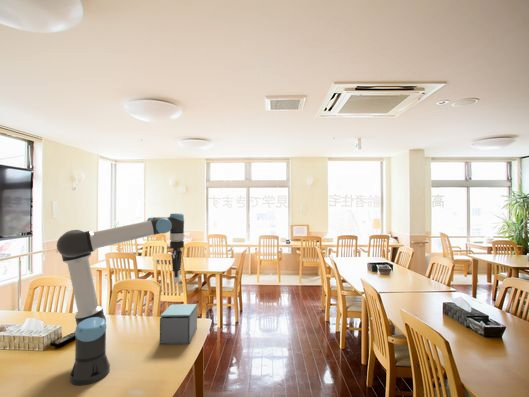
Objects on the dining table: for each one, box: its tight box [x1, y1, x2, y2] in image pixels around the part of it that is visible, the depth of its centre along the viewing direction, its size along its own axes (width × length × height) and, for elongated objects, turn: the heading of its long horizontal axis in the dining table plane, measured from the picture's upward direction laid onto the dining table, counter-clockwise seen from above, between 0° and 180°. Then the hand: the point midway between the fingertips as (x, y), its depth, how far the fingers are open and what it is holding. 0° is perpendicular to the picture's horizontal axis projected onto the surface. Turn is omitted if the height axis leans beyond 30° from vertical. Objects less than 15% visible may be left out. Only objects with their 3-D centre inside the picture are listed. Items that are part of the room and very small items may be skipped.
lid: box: [160, 303, 198, 318], centre depth 165 cm, size 19×16×1 cm
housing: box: [159, 305, 198, 346], centre depth 164 cm, size 20×16×14 cm
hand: (176, 282), depth 159 cm, fingers closed
